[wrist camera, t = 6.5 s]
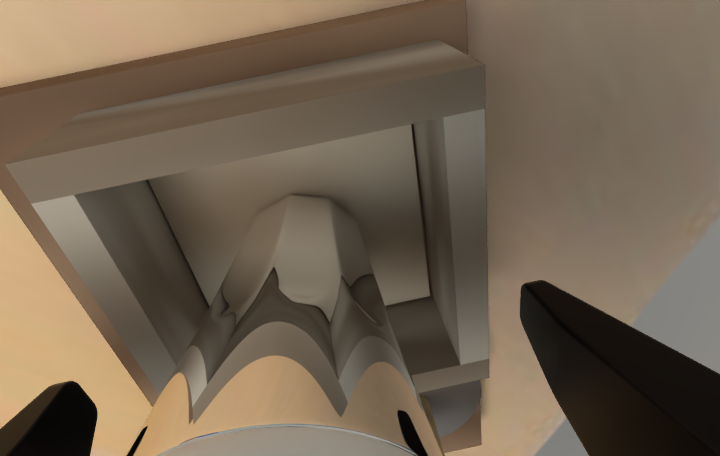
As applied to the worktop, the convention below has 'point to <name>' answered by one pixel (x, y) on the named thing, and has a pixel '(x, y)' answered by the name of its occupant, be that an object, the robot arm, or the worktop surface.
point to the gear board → (269, 183)
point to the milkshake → (293, 353)
